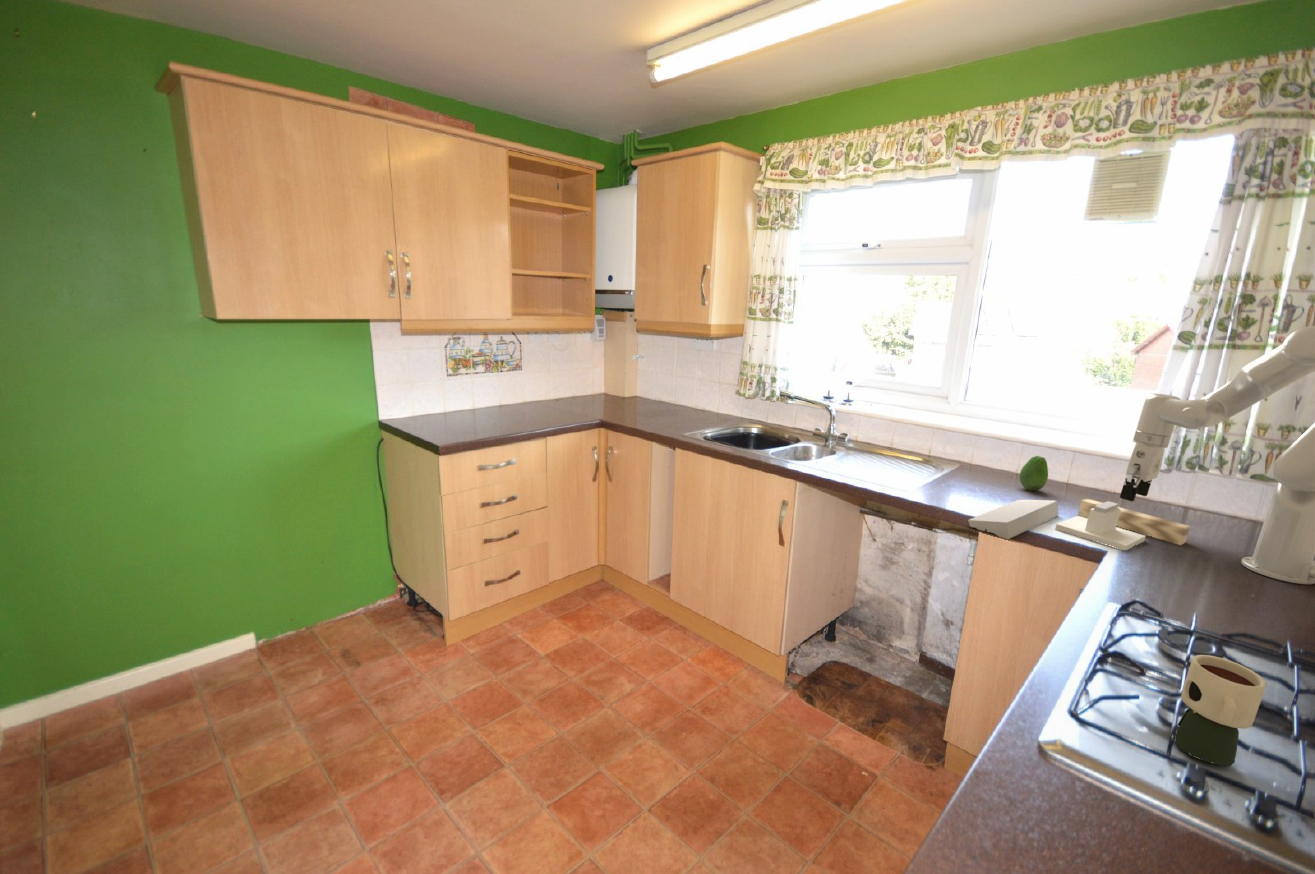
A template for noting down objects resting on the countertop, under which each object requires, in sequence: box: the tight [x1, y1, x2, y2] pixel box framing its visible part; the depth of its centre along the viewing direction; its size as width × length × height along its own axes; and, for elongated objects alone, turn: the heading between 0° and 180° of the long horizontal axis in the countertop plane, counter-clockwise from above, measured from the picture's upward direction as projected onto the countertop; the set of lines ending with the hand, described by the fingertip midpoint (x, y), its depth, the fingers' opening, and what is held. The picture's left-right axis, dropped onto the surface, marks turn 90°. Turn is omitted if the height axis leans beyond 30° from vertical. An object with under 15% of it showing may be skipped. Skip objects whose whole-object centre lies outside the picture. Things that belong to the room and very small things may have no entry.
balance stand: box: [1054, 500, 1147, 552], centre depth 156 cm, size 16×14×9 cm
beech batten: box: [1077, 498, 1191, 546], centre depth 163 cm, size 24×4×5 cm, turn 35°
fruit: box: [1019, 455, 1049, 492], centre depth 193 cm, size 8×8×12 cm
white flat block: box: [967, 499, 1059, 540], centre depth 164 cm, size 34×5×10 cm
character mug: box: [1174, 654, 1267, 767], centre depth 77 cm, size 11×7×13 cm, turn 143°
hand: (1133, 497), depth 162 cm, fingers open, 9 cm apart
